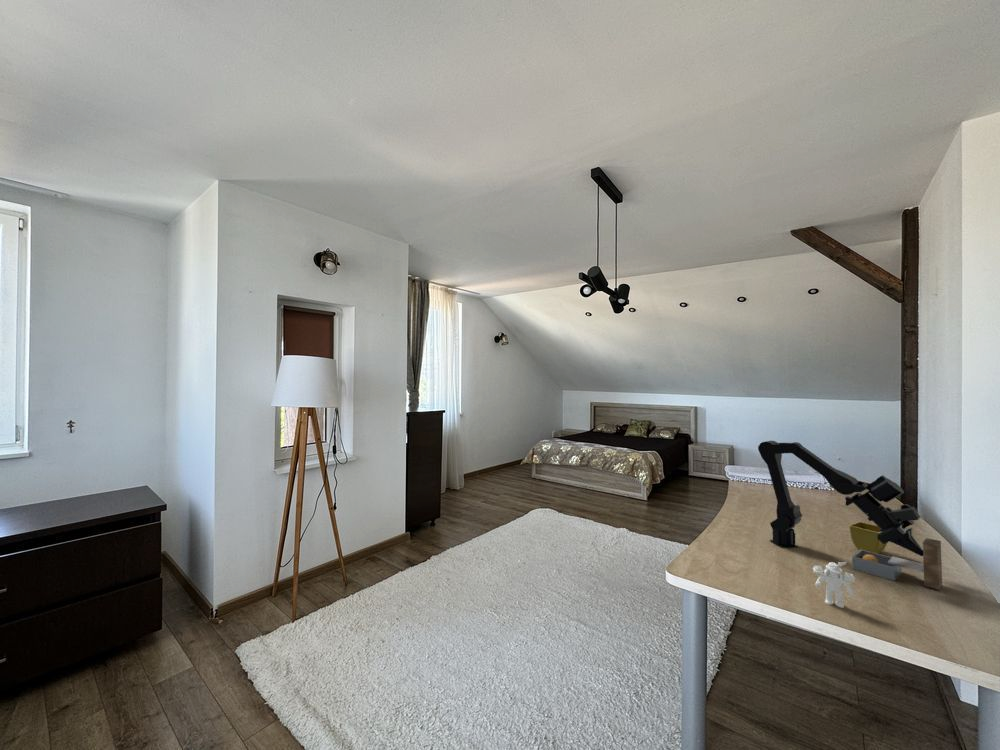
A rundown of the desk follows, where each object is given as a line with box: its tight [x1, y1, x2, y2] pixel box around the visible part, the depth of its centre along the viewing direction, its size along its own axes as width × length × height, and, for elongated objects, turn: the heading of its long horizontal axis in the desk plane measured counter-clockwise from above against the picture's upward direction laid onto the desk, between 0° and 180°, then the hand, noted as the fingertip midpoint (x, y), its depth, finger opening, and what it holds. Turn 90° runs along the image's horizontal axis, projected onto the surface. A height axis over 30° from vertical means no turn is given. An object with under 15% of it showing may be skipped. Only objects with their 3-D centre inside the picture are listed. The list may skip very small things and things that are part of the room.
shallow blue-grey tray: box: [851, 549, 903, 581], centre depth 130 cm, size 10×10×4 cm
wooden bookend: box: [888, 537, 943, 591], centre depth 123 cm, size 11×6×13 cm, turn 36°
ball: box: [862, 554, 879, 563], centre depth 131 cm, size 4×4×4 cm
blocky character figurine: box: [812, 561, 856, 609], centre depth 110 cm, size 9×4×12 cm, turn 48°
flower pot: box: [848, 521, 888, 554], centre depth 145 cm, size 9×9×9 cm
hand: (923, 555), depth 121 cm, fingers closed
